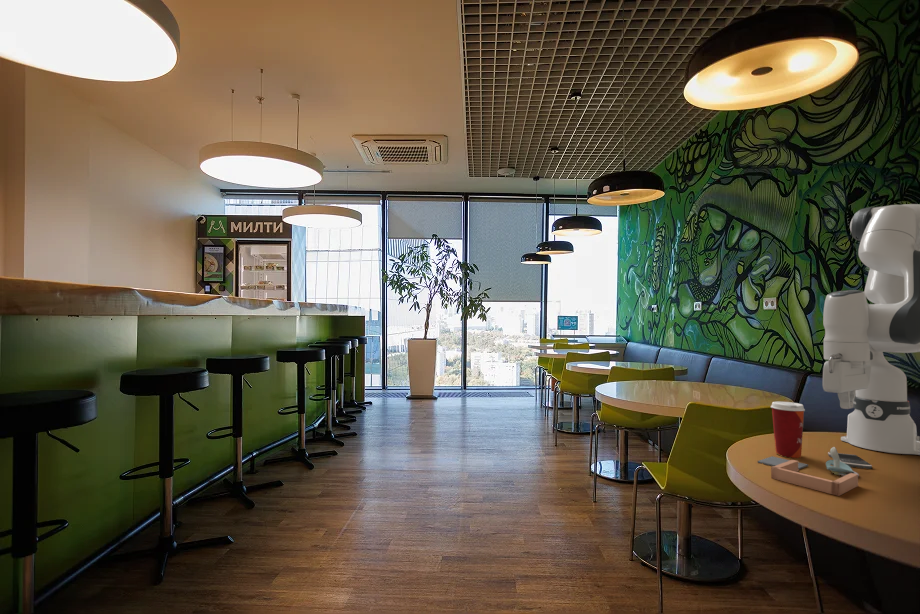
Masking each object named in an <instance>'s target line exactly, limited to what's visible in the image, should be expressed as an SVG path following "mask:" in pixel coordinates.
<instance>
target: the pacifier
mask: <svg viewBox="0 0 920 614" xmlns="http://www.w3.org/2000/svg"><path fill="white" fill-rule="evenodd" d="M829 452H830V454H831V456H832V458H833V459H829V460H827V461H826V462H825V467H826V469H827V470H828V471H831V473H832V474H833V473H834V474H833V475H836V476H840V475H841V477H843V476H845V475H848V474H850V473H853V474H858V477H860V474H859V472H856V471H854V470H853V469H852V467H849V466H848V465H847V464H845V463H843V462H841V461H840V459H839V455H838V453H839V452H838V450H837V447H835V446H833V447H831V448H830V450H829Z"/></svg>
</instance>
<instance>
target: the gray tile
mask: <svg viewBox="0 0 920 614" xmlns="http://www.w3.org/2000/svg"><path fill="white" fill-rule="evenodd" d="M787 461H790V459H785V458H780V457H777V456H772V455H771V456H769V457H766V458H763V459H760V460H757V463H758V464H762V463H763V464H762V465H765V466H771V467H773V466H776V465H779V464H782V463H784V462H787ZM806 467H809V464H807V463H803V462H799V461H798V471H799V470H802V469H804V468H806Z"/></svg>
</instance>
